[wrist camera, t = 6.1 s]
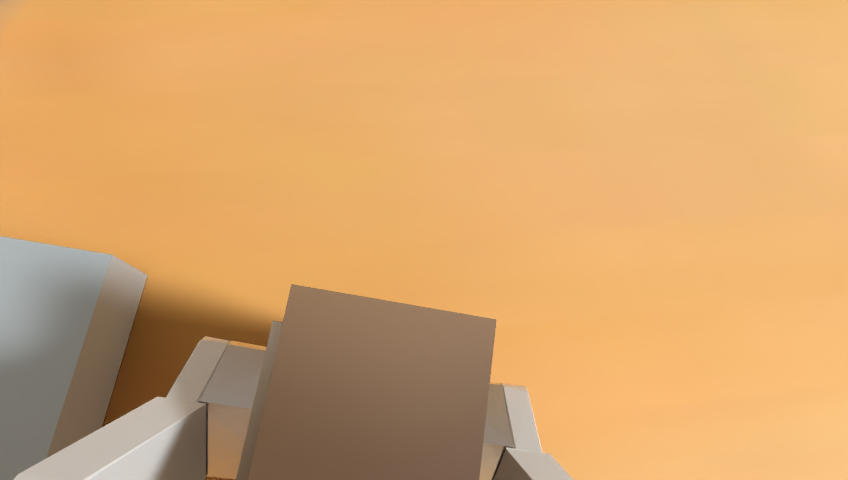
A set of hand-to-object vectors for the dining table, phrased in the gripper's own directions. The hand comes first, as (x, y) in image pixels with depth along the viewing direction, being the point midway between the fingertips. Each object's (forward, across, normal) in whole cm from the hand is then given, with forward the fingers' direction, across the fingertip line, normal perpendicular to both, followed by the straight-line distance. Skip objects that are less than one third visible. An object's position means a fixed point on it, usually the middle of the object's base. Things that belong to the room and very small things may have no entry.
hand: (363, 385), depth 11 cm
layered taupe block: (+2, 0, +4) cm, 5 cm away
